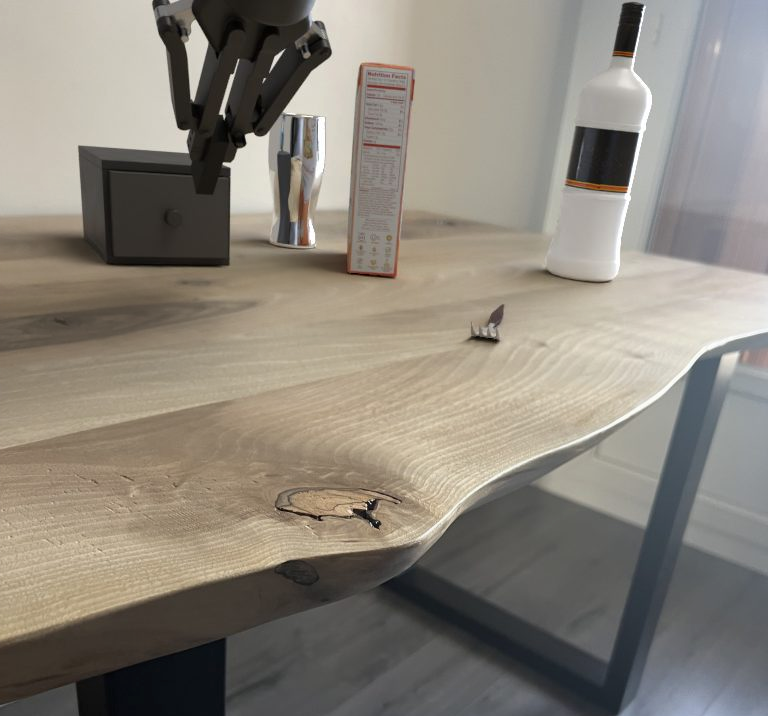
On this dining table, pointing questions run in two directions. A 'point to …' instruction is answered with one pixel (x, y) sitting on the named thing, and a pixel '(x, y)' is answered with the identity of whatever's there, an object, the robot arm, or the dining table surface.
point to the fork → (491, 324)
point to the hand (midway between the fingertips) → (201, 181)
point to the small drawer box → (98, 196)
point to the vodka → (602, 163)
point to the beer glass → (296, 177)
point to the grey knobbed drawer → (167, 216)
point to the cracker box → (379, 167)
